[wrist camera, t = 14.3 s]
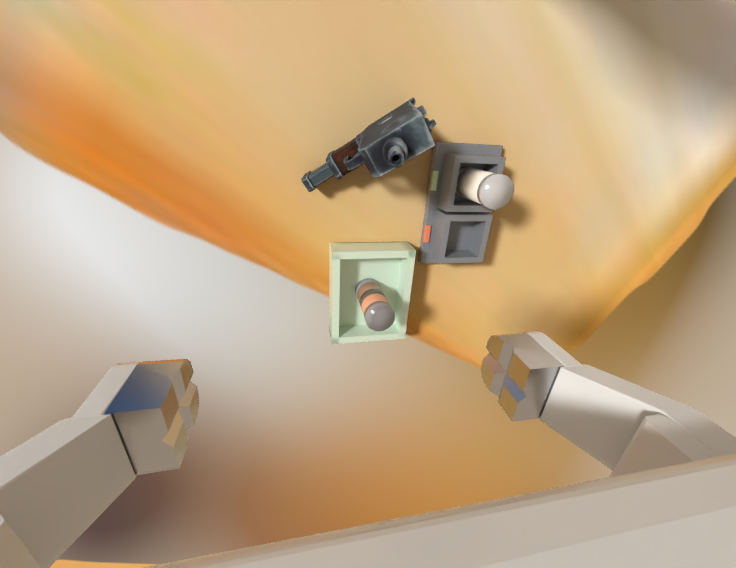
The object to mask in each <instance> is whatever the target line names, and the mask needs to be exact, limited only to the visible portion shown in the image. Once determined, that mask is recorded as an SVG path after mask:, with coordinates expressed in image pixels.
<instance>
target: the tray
mask: <svg viewBox="0 0 736 568" xmlns="http://www.w3.org/2000/svg"><path fill="white" fill-rule="evenodd" d="M415 255H416V250H415V249H414V248H413V247H412V246H411V245H410V244H409V243H408V242H347V243H330V301H329V304H330V305H329V306H330V308H329V309H330V312H329V315H330V318H329V319H330V321H329V322H330V323H329V324H330V325H329V330H330V336H331V342H332V344H339V343H351V342H365V341H377V340H391V339H404V338H405V335H406V327H407V319H408V311H409V303H410V295H411V287H412V279H413V271H414V263H415ZM366 278H372V279H375V280H376V281H377V282H378V283H379V285H380V287H381V289H382V291H383V293H384V295H385V297H386V298H387V301H388V303H389V304H390V306H391V307H392V309H393V311H394V314H395V320H394V322H393V324H392V325H391V326H390V327H389V328H388V329H386V330H384V331H373V330H371V329H370V328H369V327H368V326H367V324H366V321H365V318H364V314H363V312H362V309H361V306H360V303H359V300H358V299H357V296H356V293H355V288H356V286H357V284H358V283H359V282H360V281H361V280H363V279H366Z"/></svg>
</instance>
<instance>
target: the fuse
mask: <svg viewBox="0 0 736 568" xmlns="http://www.w3.org/2000/svg"><path fill="white" fill-rule="evenodd" d="M513 193H514V184H513V181H512V180H511V178H510V177H508V176H506V175H502V174H498V173H491V172H487V171H483V170H479V169H475V168H472V167H462V168H460V169H459V175H458V181H457V187H456V193H455V194H457V195H459V196H461V197H464V198H467V199H469V200H472V201H474V202H477V203H479V204H481V205H483V206H485V207H487V208H490V209H493V210H496V209H500V208H502V207H504V206H505V205H506V204H508V202H509V201H510V200H511V198H512V196H513Z"/></svg>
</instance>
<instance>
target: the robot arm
mask: <svg viewBox="0 0 736 568" xmlns="http://www.w3.org/2000/svg"><path fill="white" fill-rule="evenodd" d="M486 348H487V350H488V351H489V354H488V355H487V356H486V357H485V358H484V359H483V362H482V366H481V372H482V378H483V380H484V383H485V385H486V387H487V388H488V389H489V391H491V392H492V393H494V394H496V395H498V396H499V400H498V403H499V404H500V406H501V407H502V408H503V410H504V411H505V412H506V414H507V415H508V417H509V418H510V419H511V421H521V420H530V419H539V418H540V420H541V421H542V422H543V423H545V424H546V425H548V426H549V427H550V428H552V429H553V430H555V431H556V432H558V433H559V434H561V435H562V436H563V437H565V438H566V439H568V440H569V441H571V442H572V443H574V444H575V445H576V446H578V447H579V448H581V449H582V450H584V451H585V452H587V453H588V454H589V455H591V456H592V457H594V458H595V459H597V460H598V461H600V462H601V463H602V464H604V465H605V466H607V467H608V468H610V469H611V470H613V472H612V473H611V475H610V477H609V478H604V479H598V480H593V481H588V482H583V483H578V484H573V485H568V486H562V487H557V488H552V489H547V490H542V491H537V492H532V493H526V494H521V495H516V496H511V497H506V498H501V499H496V500H491V501H485V502H481V503H475V504H470V505H465V506H460V507H455V508H449V509H444V510H439V511H434V512H429V513H423V514H419V515H413V516H408V517H403V518H398V519H393V520H387V521H382V522H378V523H372V524H367V525H362V526H356V527H352V528H346V529H341V530H336V531H331V532H325V533H320V534H315V535H310V536H305V537H300V538H294V539H289V540H284V541H279V542H274V543H269V544H263V545H258V546H253V547H248V548H243V549H238V550H232V551H228V552H222V553H217V554H212V555H207V556H201V557H196V558H191V559H186V560H181V561H176V562H170V563H165V564H160V565H155V566H150V567H144V568H736V438H735V437H734V436H732V435H731V434H730V433H728V432H727V431H725V430H724V429H722V428H721V427H720V426H718V425H717V424H715V423H714V422H713V421H711V420H710V419H708V418H707V417H706V416H704V415H703V414H701V413H700V412H699V411H697V410H696V409H694V408H692V407H690V406H688V405H685V404H683V403H680V402H678V401H675V400H673V399H670V398H668V397H666V396H663V395H661V394H658V393H656V392H653V391H651V390H648V389H646V388H644V387H641V386H639V385H636V384H634V383H631V382H629V381H626V380H624V379H621V378H619V377H616V376H614V375H612V374H609V373H607V372H604V371H602V370H599V369H597V368H595V367H592V366H589V365H587V364H585V365H582V364H580V363H579V362H578V361H577V360H576V359H574V358H573V357H572V356H571V355H570V354H568V353H567V352H566V351H565V350H563V349H562V348H561V347H560V346H559V345H557V344H556V343H555V342H554V341H553V340H551V339H550V338H549V337H548V336H547V335H545V334H544V333H542V332H539V331H532V332H523V333H518V334H505V335H493V336H491V337H490V338H489V340H488V342H487V346H486ZM192 374H193V368H192V365H191V362H190V361H189V360H188V359H178V360H161V361H144V362H130V363H118V364H116V365H114V366H112V367H111V368H110V370H109V371H108V372H107V374H106V375H105V376H104V377H103V378H102V380H101V381H100V382H99V384H98V385H97V386H96V387H95V389H94V390H93V391H92V393H91V394H90V395H89V396H88V398H87V399H86V400H85V402H84V403H83V404H82V405H81V407H80V408H79V409H78V410H77V412H76V413H75V414H74V416H73V417H72V418H69V419H62V420H61V421H59V422H57V423H56V424H54V425H52V426H51V427H49V428H47V429H46V430H44V431H42V432H41V433H39V434H37V435H36V436H34V437H32V438H31V439H29V440H27V441H26V442H24V443H23V444H21V445H19V446H17V447H16V448H14V449H12V450H11V451H9V452H8V453H6V454H4V455H2V456H1V457H0V568H49V567H50V566H51V565H52V564H53V563H54V562H55V561H56V560H57V559H58V558H59V557H60V556H61V555H62V553H64V552H65V551H66V550H67V549H68V548H69V547H70V546H71V544H72V543H73V542H74V541H75V540H76V539H77V538H78V537H79V536H80V535H81V534H82V533H83V532H84V531H85V530H86V529H87V528H88V527H89V526H90V525H91V524H92V523H93V522H94V520H96V519H97V518H98V517H99V515H100V514H101V513H102V512H103V511H104V510H105V509H106V508H107V507H108V506H109V505H110V504H111V503H112V502H113V501H114V500H115V499H116V498H117V497H118V496H119V495H120V494H121V493H122V491H124V489H126V487H127V486H128V485H129V484H130V483H131V482H132V481H133V480H134V479H135V478H136V475H140V474H146V473H152V472H158V471H164V470H170V469H176V468H180V465H181V462H182V459H183V456H184V453H185V450H186V447H187V445H188V442H189V441H188V438H187V433H186V432H187V431H188V430H190V429H191V428H192V427H193V426H194V424H195V421H196V418H197V415H198V407H199V395H198V389H197V386H196V385H195V384H193V383H192V382H191V381H190V380H191V377H192Z"/></svg>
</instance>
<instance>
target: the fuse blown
mask: <svg viewBox="0 0 736 568" xmlns="http://www.w3.org/2000/svg"><path fill="white" fill-rule="evenodd" d="M355 293H356V296H357V299H358V300H359V303H360V306H361V309H362V312H363V314H364V318H365V321H366V324H367V326H368V327H369V328H370V329H371V330H373V331H384V330H386V329H388V328H389V327H390V326H391V325H392V324H393V322H394V320H395V314H394V311H393V309H392V307H391V306H390V304H389V303H388V301H387V298H386V297H385V295H384V293H383V291H382V289H381V287H380V285H379V283H378V282H377V281H376V280H375V279H372V278H366V279H363V280H361V281H360V282H359V283H358V284H357V286H356V288H355Z"/></svg>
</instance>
